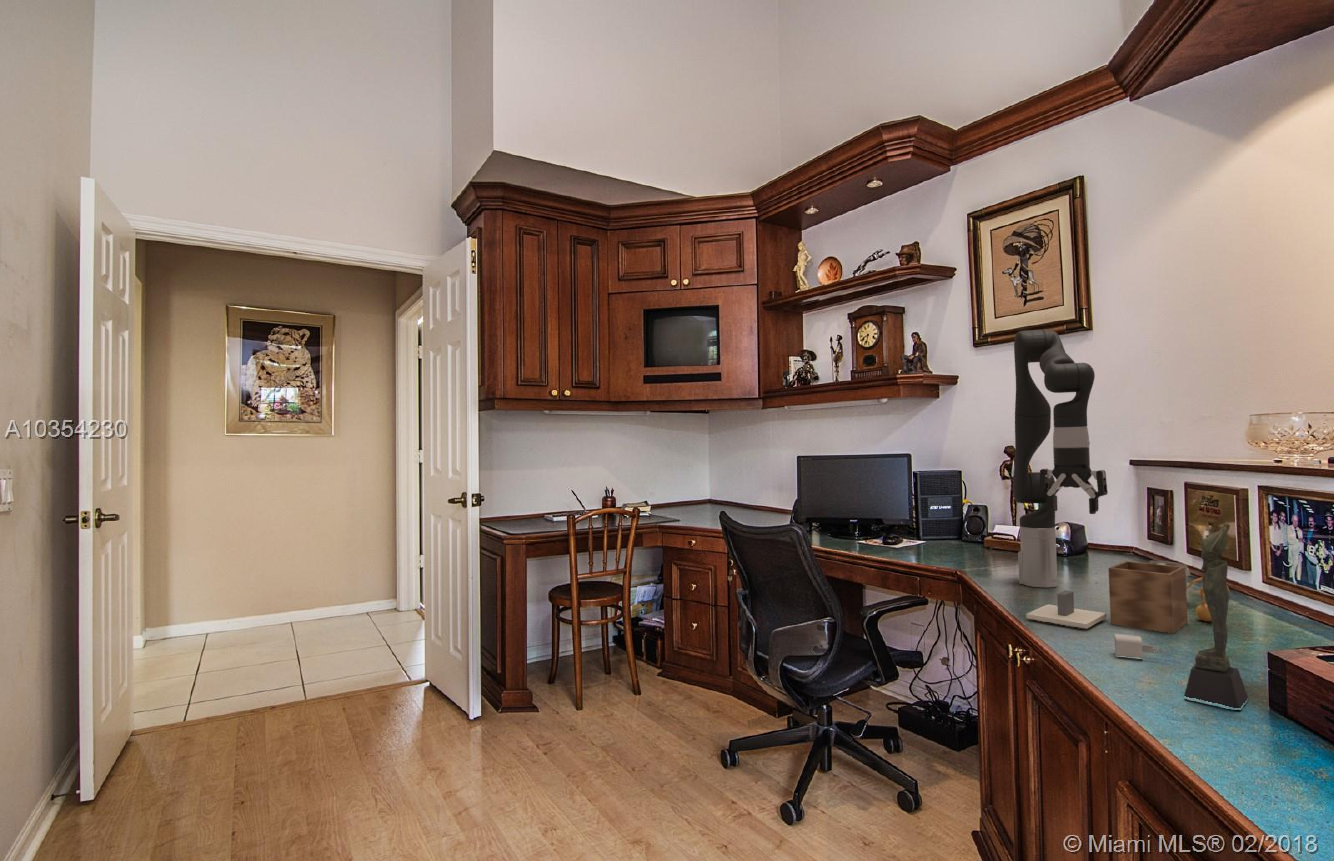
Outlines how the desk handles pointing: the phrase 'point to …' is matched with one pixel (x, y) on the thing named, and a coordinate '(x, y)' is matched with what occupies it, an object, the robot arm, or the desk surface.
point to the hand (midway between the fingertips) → (1073, 512)
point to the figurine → (1202, 604)
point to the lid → (1066, 613)
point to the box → (1148, 596)
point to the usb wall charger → (1131, 646)
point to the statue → (1216, 633)
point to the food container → (1173, 565)
